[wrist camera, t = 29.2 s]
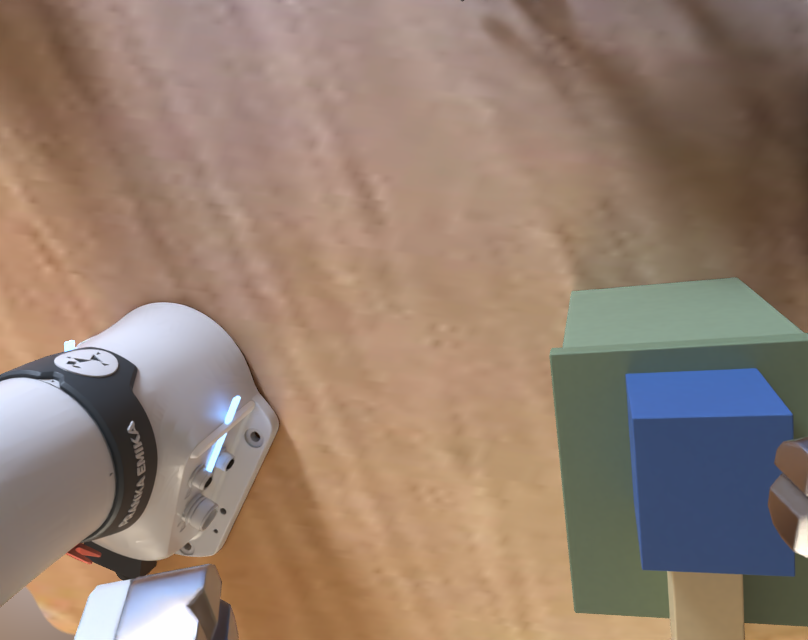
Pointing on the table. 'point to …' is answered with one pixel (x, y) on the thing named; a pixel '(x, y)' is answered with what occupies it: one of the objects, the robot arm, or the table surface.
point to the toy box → (609, 429)
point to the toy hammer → (707, 490)
